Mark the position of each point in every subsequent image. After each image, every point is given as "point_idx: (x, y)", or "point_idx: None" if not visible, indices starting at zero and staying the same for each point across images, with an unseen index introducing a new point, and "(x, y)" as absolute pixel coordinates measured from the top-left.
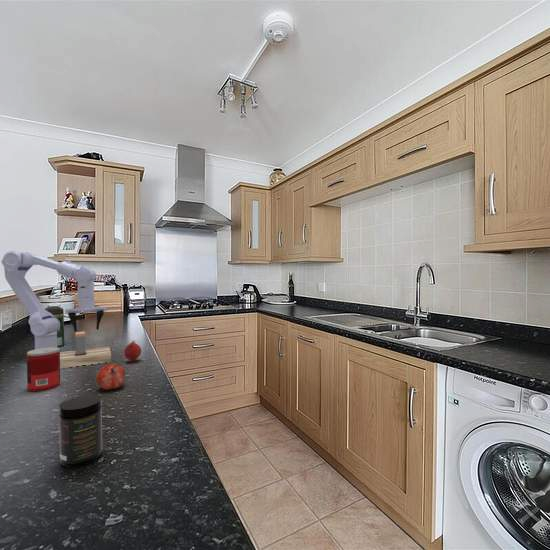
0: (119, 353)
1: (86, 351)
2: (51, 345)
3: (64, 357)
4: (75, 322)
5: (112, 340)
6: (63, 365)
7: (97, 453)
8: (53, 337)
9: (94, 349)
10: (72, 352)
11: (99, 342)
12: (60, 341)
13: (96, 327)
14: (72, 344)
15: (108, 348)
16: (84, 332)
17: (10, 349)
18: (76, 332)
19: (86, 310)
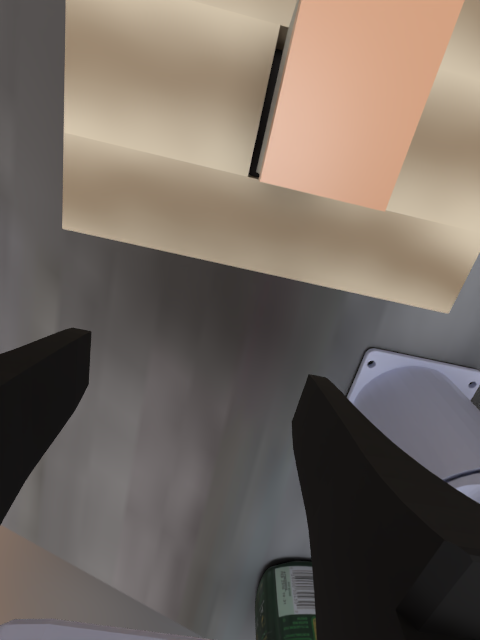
0: (18, 168)
1: (245, 175)
2: (426, 413)
3: (444, 68)
4: (360, 445)
5: (37, 533)
6: None
7: None
8: (439, 464)
9: (178, 205)
10: (335, 225)
11: (105, 532)
12: (283, 587)
13: (80, 385)
14: (225, 568)
15: (72, 150)
16: (299, 59)
17: None
18: (385, 174)
19: (133, 630)
